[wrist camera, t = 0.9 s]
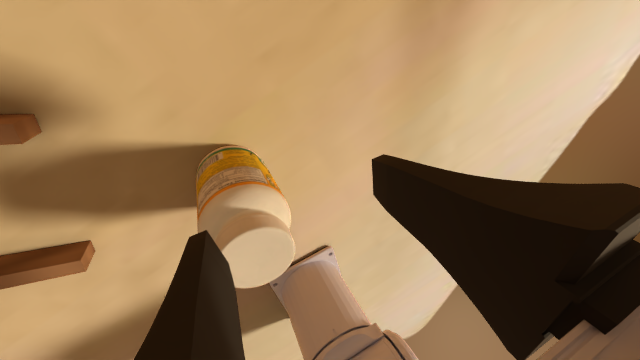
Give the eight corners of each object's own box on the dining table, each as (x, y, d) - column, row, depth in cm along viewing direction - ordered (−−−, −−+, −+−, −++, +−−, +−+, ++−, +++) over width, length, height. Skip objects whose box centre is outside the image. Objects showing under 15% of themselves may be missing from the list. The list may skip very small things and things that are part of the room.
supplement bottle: (194, 142, 17) (196, 221, 10) (268, 144, 20) (315, 209, 12) (197, 206, 20) (200, 310, 12) (263, 201, 22) (300, 285, 15)
